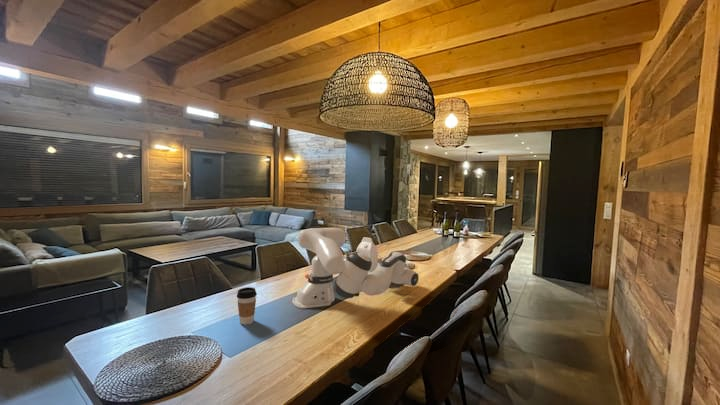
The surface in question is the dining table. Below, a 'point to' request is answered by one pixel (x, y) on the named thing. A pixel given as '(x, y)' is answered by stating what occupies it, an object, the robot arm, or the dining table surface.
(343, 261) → the robot arm
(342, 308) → the dining table surface
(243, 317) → the coffee cup
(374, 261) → the milk
